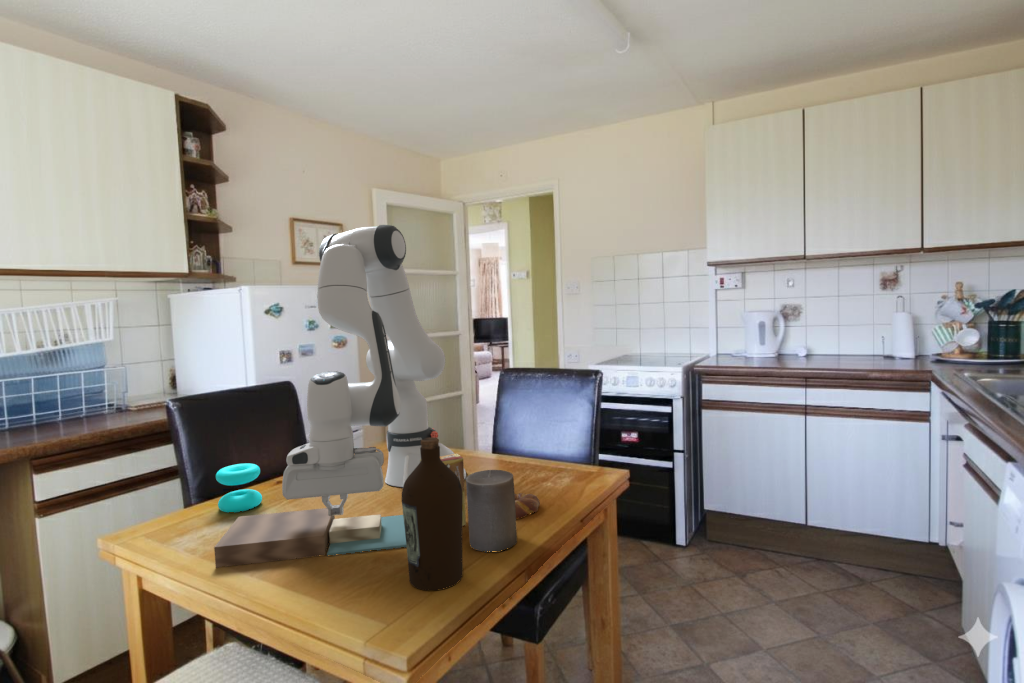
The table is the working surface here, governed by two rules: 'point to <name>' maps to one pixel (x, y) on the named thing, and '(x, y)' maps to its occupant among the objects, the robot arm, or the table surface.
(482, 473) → the pillar candle
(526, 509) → the pretzel
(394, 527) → the teal mat
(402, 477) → the robot arm
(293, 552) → the walnut board
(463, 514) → the candy box
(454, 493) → the olive oil
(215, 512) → the table surface
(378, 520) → the cream block
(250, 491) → the donuts
